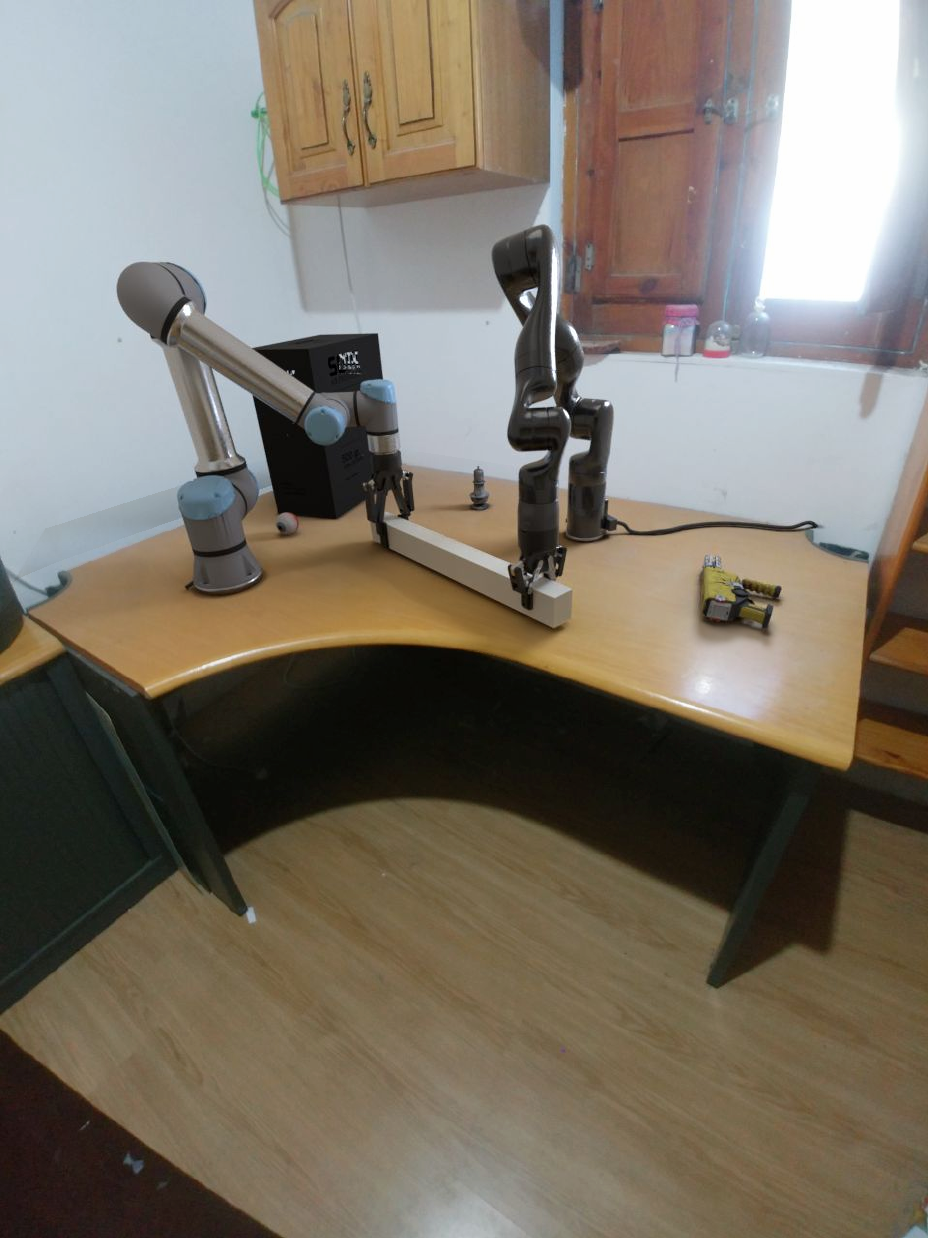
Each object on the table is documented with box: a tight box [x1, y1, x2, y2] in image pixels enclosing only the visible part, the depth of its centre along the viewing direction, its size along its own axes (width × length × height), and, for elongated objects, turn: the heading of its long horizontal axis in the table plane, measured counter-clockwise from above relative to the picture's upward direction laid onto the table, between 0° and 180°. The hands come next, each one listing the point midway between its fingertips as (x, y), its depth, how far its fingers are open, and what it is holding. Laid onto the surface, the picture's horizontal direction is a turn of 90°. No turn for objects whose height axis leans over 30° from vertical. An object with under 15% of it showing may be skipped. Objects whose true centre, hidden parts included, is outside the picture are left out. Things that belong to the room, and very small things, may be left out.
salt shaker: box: [469, 465, 491, 510], centre depth 173 cm, size 6×6×12 cm
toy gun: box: [700, 553, 783, 630], centre depth 120 cm, size 5×24×15 cm
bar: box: [369, 511, 573, 629], centre depth 134 cm, size 63×5×6 cm, turn 40°
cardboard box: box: [251, 332, 384, 520], centre depth 181 cm, size 38×20×45 cm, turn 159°
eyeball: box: [275, 512, 300, 536], centre depth 163 cm, size 6×6×6 cm
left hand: (394, 542), depth 153 cm, fingers closed on bar, 5 cm apart
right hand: (537, 603), depth 118 cm, fingers closed on bar, 5 cm apart
